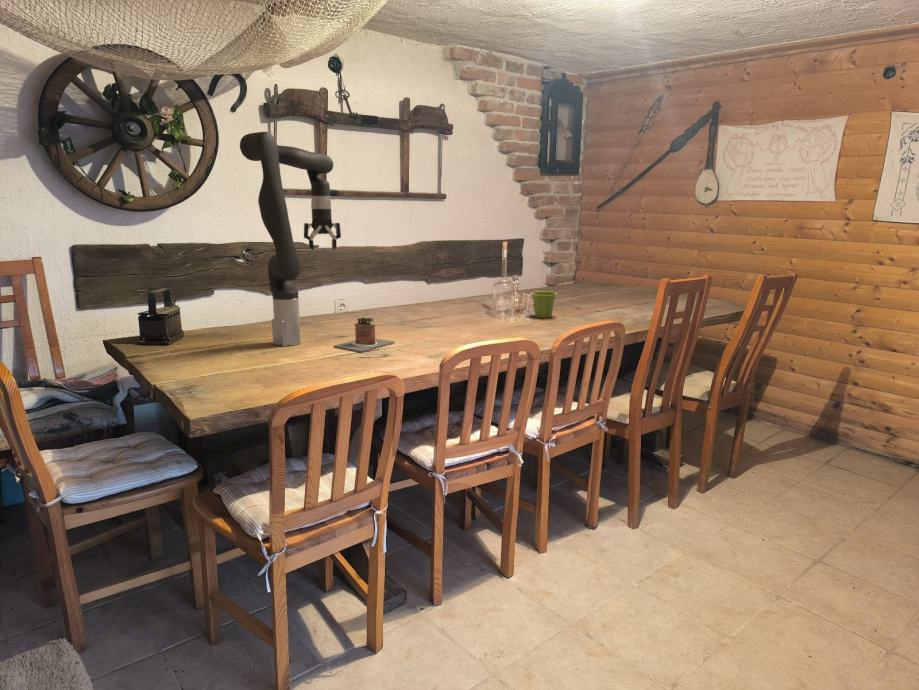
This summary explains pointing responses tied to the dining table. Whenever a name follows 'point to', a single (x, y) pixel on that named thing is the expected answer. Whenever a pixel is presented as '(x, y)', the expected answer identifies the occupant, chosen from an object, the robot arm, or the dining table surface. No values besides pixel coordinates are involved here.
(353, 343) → the mat
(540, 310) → the plant pot
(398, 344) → the dining table surface
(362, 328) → the lighter
